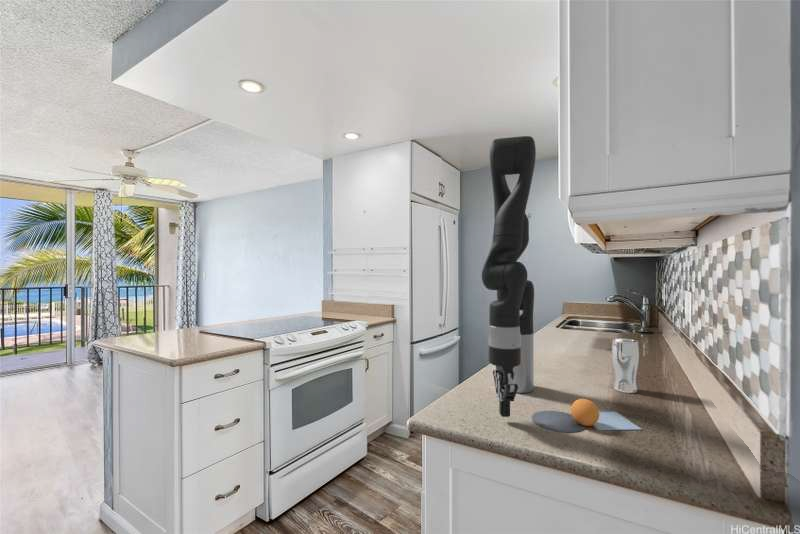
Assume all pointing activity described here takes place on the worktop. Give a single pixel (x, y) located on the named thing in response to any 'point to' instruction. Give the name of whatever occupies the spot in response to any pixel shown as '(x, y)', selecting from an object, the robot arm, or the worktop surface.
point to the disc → (557, 421)
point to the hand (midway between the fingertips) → (504, 415)
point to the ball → (585, 412)
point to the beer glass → (625, 364)
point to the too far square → (614, 422)
